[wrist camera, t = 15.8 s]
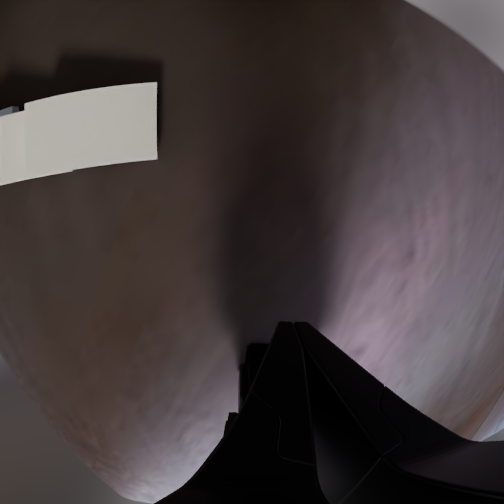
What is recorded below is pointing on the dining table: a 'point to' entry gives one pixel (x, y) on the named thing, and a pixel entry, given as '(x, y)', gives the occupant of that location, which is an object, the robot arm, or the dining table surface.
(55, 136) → the domino
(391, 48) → the dining table surface
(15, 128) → the domino
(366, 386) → the robot arm
